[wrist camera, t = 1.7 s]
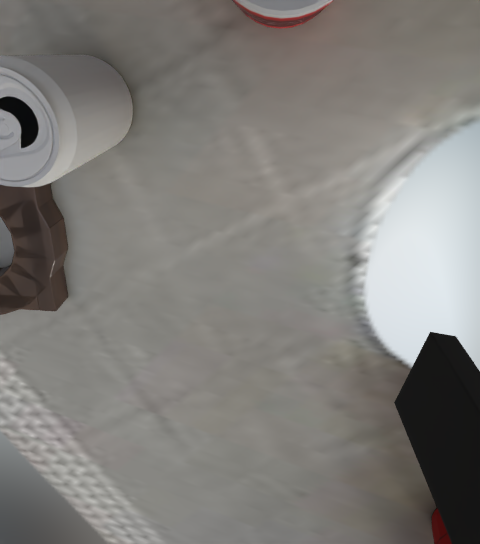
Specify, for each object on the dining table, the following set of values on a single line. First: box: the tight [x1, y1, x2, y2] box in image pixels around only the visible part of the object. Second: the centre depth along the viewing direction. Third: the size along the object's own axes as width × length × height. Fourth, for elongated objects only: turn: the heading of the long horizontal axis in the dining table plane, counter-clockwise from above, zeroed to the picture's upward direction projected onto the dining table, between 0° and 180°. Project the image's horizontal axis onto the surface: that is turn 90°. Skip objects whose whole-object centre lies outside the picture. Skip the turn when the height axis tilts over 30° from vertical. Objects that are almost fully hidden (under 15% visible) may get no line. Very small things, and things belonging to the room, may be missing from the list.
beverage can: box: [0, 55, 133, 187], centre depth 27 cm, size 6×6×12 cm
